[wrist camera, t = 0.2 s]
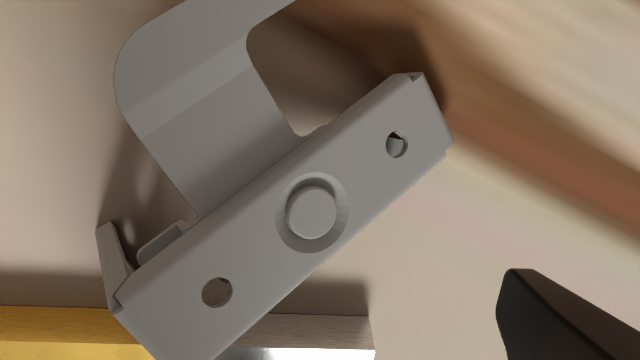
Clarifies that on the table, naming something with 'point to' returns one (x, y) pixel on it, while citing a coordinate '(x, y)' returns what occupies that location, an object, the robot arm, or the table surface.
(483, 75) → the table surface
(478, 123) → the table surface
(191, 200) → the bracket
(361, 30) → the table surface
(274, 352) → the guide channel
